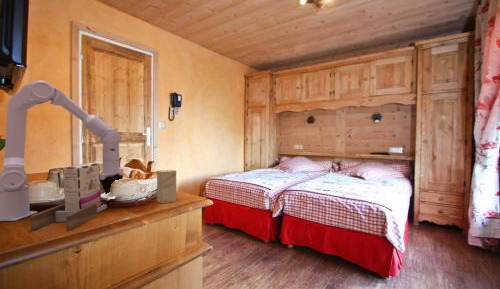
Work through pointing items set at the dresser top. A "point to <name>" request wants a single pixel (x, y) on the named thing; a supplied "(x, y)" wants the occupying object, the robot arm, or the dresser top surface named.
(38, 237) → the dresser top surface
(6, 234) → the dresser top surface
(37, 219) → the shelf lane
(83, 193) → the candy bar box
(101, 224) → the dresser top surface
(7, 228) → the dresser top surface
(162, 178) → the skincare box
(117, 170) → the robot arm
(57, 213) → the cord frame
